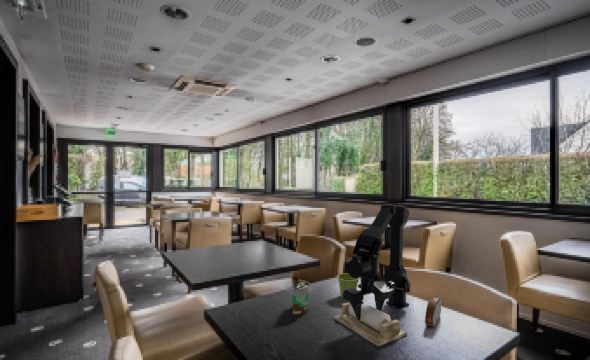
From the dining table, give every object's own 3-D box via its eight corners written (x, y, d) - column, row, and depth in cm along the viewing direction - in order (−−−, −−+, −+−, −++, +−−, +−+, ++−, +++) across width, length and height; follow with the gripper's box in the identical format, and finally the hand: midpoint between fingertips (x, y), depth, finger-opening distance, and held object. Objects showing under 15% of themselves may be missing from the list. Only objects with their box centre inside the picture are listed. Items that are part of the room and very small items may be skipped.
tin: (433, 313, 117) (433, 291, 117) (442, 315, 115) (443, 292, 115) (424, 329, 105) (424, 304, 105) (434, 331, 103) (434, 306, 103)
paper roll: (348, 317, 111) (348, 301, 111) (360, 313, 114) (360, 297, 114) (378, 335, 98) (378, 316, 98) (391, 330, 101) (391, 312, 101)
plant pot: (361, 301, 128) (361, 280, 128) (338, 301, 128) (338, 280, 128) (357, 293, 137) (357, 273, 137) (335, 292, 137) (335, 273, 137)
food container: (308, 318, 112) (308, 291, 112) (291, 317, 113) (291, 289, 113) (313, 305, 124) (313, 280, 124) (298, 303, 125) (298, 279, 125)
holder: (361, 311, 118) (361, 298, 118) (407, 335, 100) (407, 319, 100) (334, 319, 112) (334, 305, 112) (378, 346, 94) (378, 329, 94)
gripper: (365, 282, 94) (365, 333, 94) (407, 272, 104) (406, 319, 104) (341, 272, 104) (341, 319, 104) (381, 264, 113) (381, 307, 113)
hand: (368, 316), depth 106 cm, fingers open, 9 cm apart
